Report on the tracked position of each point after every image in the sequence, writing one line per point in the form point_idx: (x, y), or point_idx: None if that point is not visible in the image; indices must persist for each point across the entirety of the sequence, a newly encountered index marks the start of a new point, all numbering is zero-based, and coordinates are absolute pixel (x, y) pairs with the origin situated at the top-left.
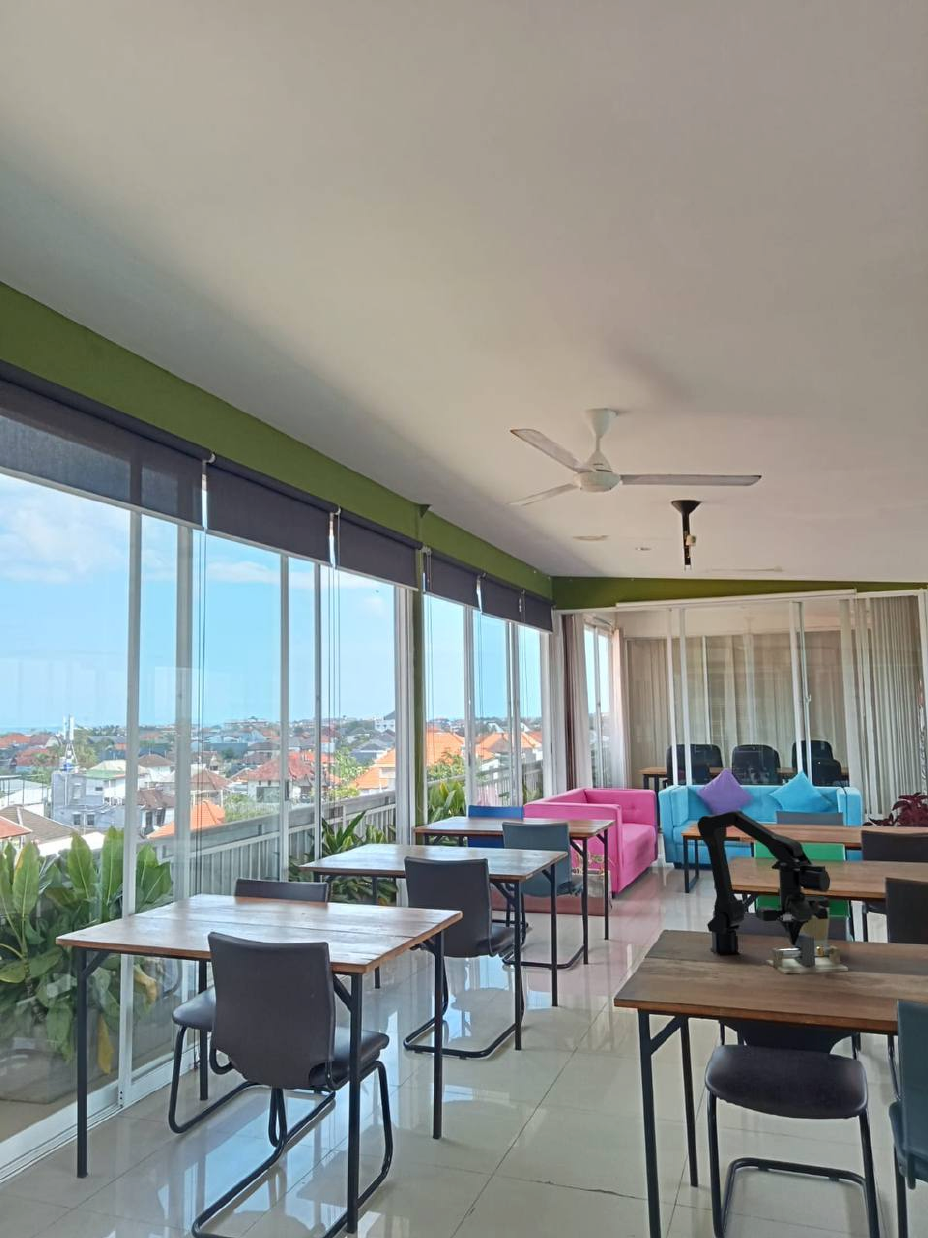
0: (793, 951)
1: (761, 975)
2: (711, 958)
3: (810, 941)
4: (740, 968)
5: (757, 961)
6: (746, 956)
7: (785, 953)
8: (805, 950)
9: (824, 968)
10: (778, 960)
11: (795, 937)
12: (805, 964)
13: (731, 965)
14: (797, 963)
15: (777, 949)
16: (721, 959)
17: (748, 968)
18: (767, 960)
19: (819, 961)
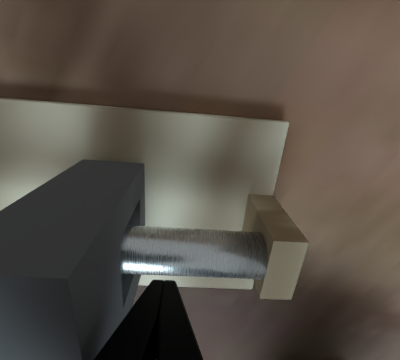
0: (178, 243)
1: (397, 133)
2: (386, 349)
3: (2, 240)
4: (393, 243)
5: (266, 302)
6: (263, 349)
7: (236, 237)
8: (107, 199)
9: (46, 115)
10: (279, 211)
11: (140, 335)
12: (138, 164)
13: (391, 280)
14: (149, 225)
15: (280, 274)
16: (365, 337)
17: (364, 237)
18: (252, 284)
19: None
